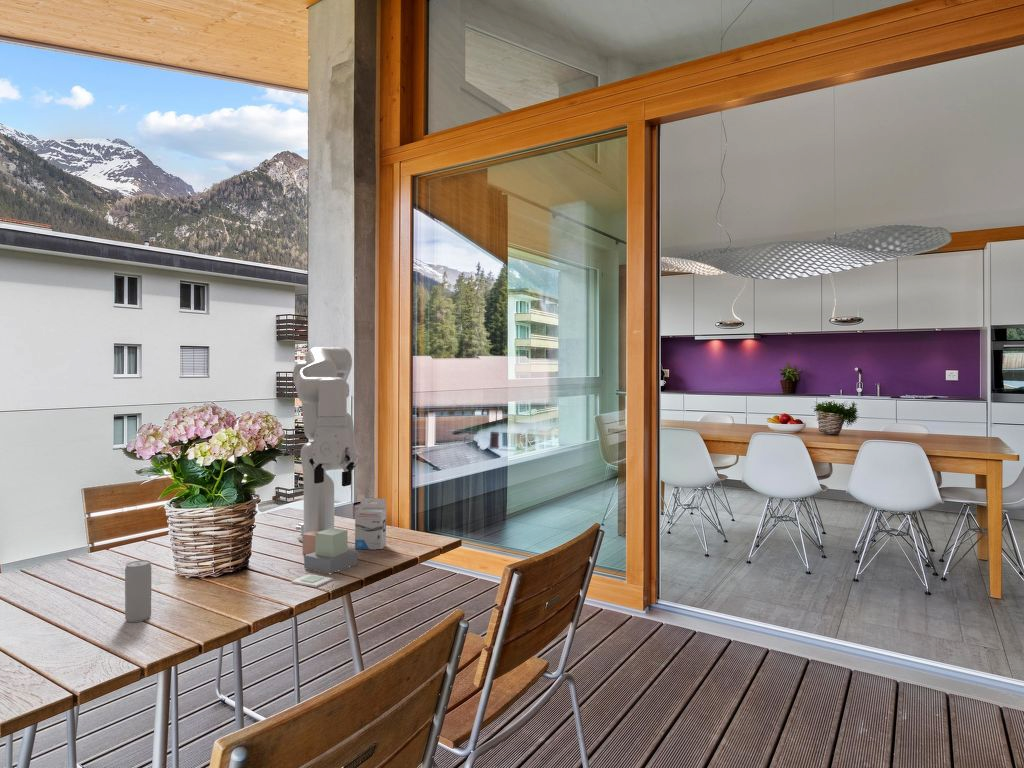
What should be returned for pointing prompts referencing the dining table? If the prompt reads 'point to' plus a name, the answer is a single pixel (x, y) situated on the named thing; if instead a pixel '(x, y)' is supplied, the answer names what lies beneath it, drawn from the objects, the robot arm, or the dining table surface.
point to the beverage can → (138, 591)
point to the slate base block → (330, 561)
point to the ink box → (370, 524)
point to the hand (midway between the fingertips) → (332, 484)
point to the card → (311, 580)
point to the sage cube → (331, 542)
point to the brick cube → (309, 542)
